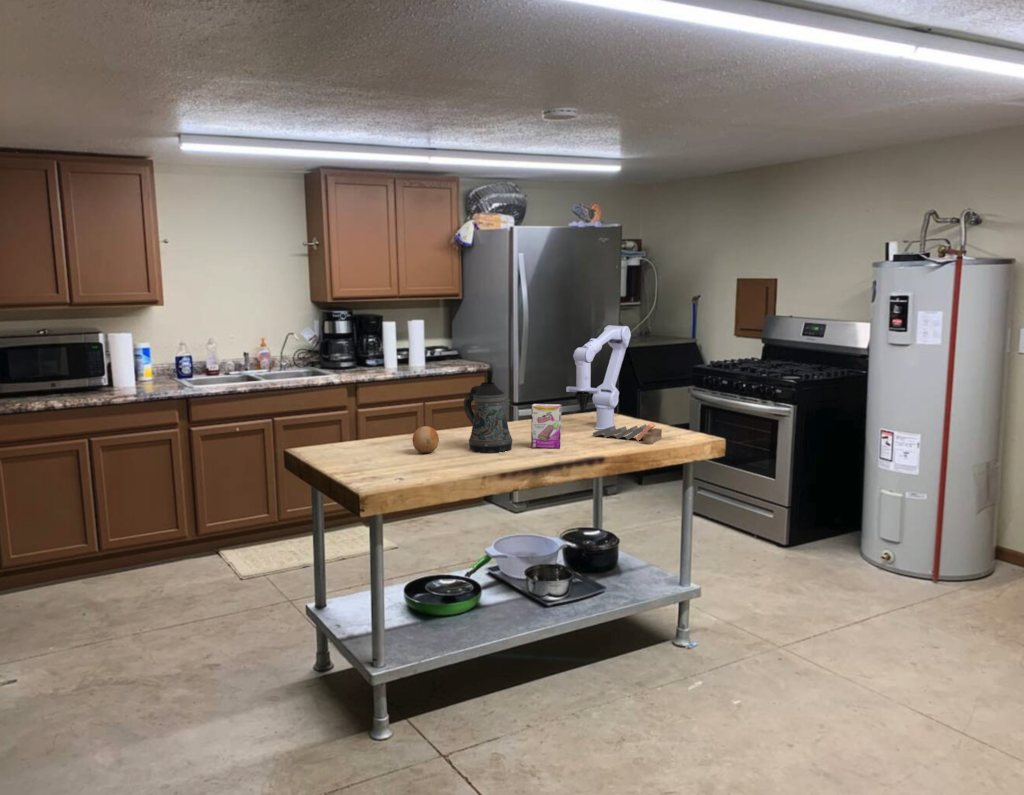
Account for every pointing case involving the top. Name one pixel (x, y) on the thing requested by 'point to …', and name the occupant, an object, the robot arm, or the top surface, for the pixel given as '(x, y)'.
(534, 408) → the candy bar box
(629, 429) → the domino
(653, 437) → the end block
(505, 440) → the beer stein
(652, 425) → the domino
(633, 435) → the domino
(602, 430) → the domino
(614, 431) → the domino
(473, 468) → the top surface
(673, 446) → the top surface
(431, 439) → the onion
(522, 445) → the top surface
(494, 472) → the top surface
